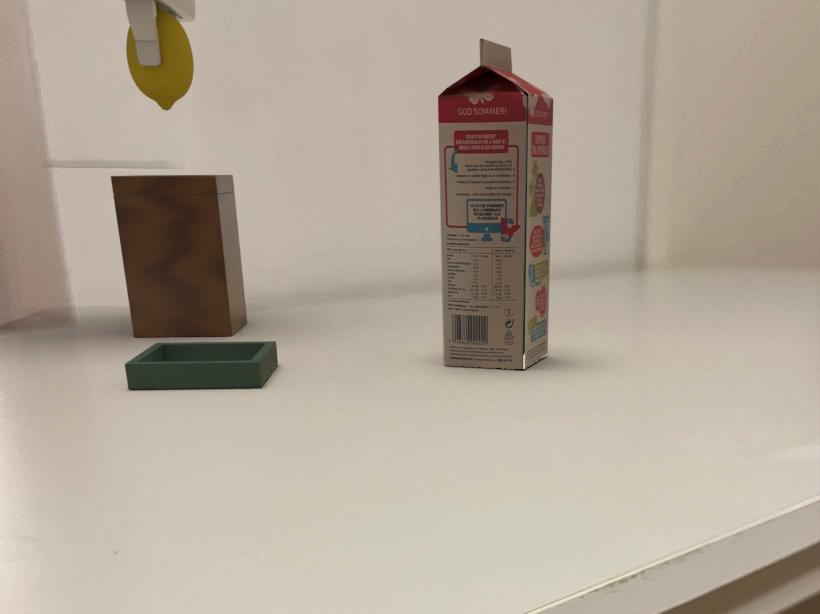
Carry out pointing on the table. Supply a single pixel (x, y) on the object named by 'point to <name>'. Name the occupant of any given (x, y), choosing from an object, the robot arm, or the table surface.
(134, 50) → the lemon
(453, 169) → the juice carton
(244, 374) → the low tray
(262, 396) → the table surface
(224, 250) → the brown upright box
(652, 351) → the table surface
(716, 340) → the table surface
